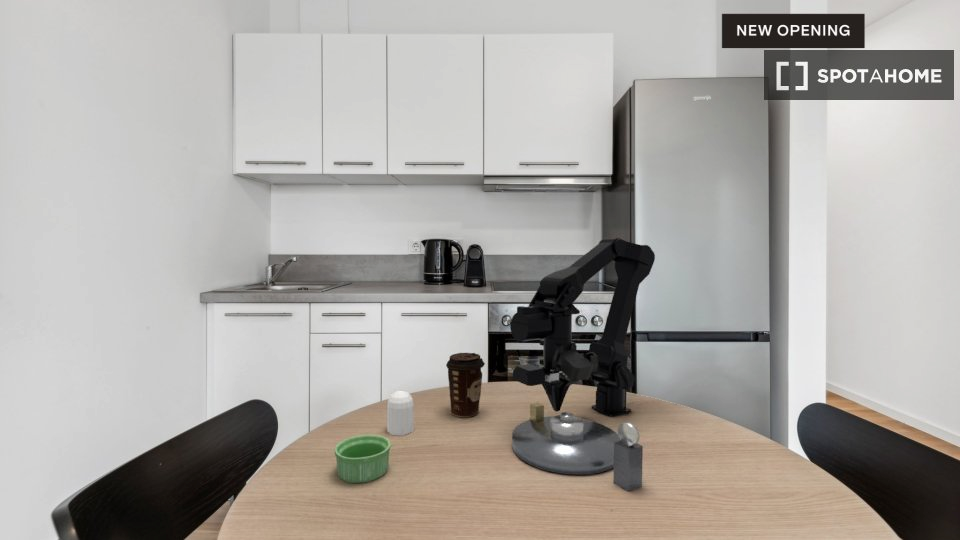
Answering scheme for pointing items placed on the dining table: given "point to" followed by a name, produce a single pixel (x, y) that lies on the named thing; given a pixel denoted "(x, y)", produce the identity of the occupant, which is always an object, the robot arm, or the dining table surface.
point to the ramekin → (362, 458)
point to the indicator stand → (628, 458)
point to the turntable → (564, 446)
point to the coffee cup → (465, 383)
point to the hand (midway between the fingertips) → (556, 410)
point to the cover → (566, 428)
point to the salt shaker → (400, 413)
